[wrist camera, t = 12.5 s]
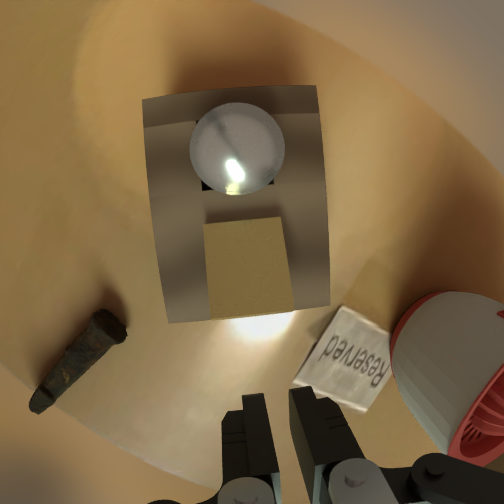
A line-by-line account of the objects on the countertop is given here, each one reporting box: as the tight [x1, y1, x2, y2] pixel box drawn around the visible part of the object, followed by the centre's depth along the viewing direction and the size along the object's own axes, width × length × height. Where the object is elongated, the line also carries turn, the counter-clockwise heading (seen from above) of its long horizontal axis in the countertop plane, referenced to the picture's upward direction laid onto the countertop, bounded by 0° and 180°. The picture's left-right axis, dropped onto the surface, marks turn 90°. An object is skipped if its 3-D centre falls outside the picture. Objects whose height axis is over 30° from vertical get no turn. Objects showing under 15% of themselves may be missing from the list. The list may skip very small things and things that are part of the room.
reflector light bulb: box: [190, 103, 285, 195], centre depth 23 cm, size 6×6×10 cm
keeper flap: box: [203, 217, 295, 321], centre depth 20 cm, size 6×5×1 cm
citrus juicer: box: [390, 290, 504, 467], centre depth 24 cm, size 16×17×20 cm
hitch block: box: [142, 85, 330, 323], centre depth 25 cm, size 16×12×8 cm
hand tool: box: [29, 309, 128, 414], centre depth 29 cm, size 19×4×5 cm, turn 129°
